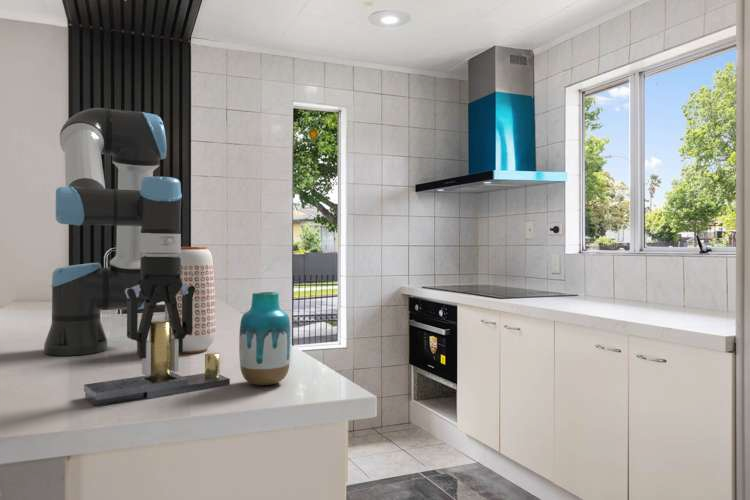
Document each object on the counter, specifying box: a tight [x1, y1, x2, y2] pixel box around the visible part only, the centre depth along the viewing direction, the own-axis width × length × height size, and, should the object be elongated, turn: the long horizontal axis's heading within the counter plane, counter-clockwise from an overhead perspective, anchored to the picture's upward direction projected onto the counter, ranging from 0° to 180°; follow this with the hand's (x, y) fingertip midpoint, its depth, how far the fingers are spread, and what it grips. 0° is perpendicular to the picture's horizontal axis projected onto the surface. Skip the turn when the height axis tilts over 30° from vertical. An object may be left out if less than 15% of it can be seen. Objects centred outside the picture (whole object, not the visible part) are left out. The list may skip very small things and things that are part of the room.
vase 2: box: [238, 291, 292, 386], centre depth 121 cm, size 11×11×19 cm
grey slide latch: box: [83, 352, 231, 407], centre depth 115 cm, size 8×26×6 cm, turn 131°
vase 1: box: [164, 246, 217, 354], centre depth 157 cm, size 13×13×28 cm
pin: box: [149, 320, 172, 383], centre depth 115 cm, size 4×4×14 cm
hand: (160, 372), depth 115 cm, fingers open, 5 cm apart
